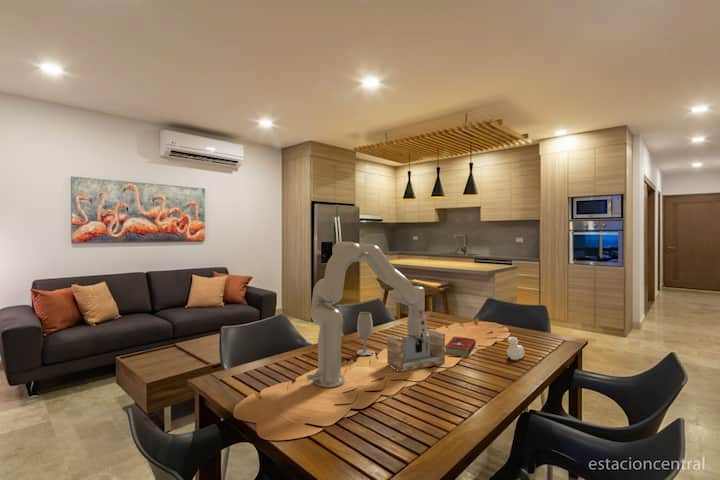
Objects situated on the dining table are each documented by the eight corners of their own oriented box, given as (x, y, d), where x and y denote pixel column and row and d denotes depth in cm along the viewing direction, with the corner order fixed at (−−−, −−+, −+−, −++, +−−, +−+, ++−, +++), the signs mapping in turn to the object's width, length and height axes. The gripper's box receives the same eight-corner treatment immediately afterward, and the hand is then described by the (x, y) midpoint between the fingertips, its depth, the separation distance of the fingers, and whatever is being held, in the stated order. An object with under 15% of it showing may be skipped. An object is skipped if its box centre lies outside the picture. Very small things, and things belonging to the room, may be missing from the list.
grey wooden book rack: (399, 371, 168) (399, 341, 168) (387, 364, 177) (387, 335, 177) (444, 362, 180) (444, 333, 180) (431, 356, 189) (431, 328, 189)
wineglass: (373, 356, 189) (373, 315, 188) (356, 356, 189) (356, 315, 188) (373, 351, 197) (373, 311, 197) (356, 350, 198) (356, 311, 197)
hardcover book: (475, 346, 208) (475, 338, 208) (468, 357, 189) (468, 349, 189) (453, 343, 213) (453, 335, 213) (444, 353, 195) (444, 345, 194)
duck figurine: (521, 359, 191) (509, 339, 196) (532, 353, 186) (520, 332, 191) (507, 364, 184) (495, 342, 190) (518, 358, 179) (505, 336, 185)
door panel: (406, 365, 174) (406, 339, 174) (401, 362, 177) (401, 337, 177) (430, 360, 180) (430, 335, 180) (425, 358, 183) (425, 333, 183)
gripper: (433, 315, 172) (433, 354, 173) (412, 308, 187) (412, 345, 188) (420, 316, 169) (420, 357, 169) (400, 309, 184) (400, 347, 184)
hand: (416, 350), depth 178 cm, fingers open, 3 cm apart
